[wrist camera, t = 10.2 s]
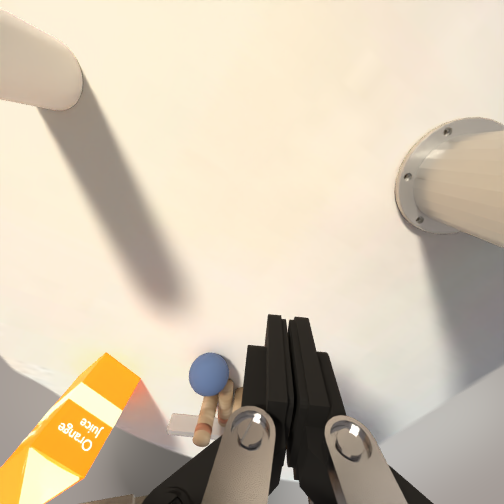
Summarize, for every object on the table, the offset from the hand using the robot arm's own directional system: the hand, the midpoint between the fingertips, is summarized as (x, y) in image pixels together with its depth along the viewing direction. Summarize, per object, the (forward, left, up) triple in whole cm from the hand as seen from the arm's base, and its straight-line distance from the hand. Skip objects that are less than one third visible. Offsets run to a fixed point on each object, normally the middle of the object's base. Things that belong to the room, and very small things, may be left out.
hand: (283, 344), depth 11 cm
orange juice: (+26, +31, -23) cm, 47 cm away
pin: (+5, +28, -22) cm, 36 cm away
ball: (+8, +24, -20) cm, 33 cm away
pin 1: (+8, +31, -23) cm, 40 cm away
